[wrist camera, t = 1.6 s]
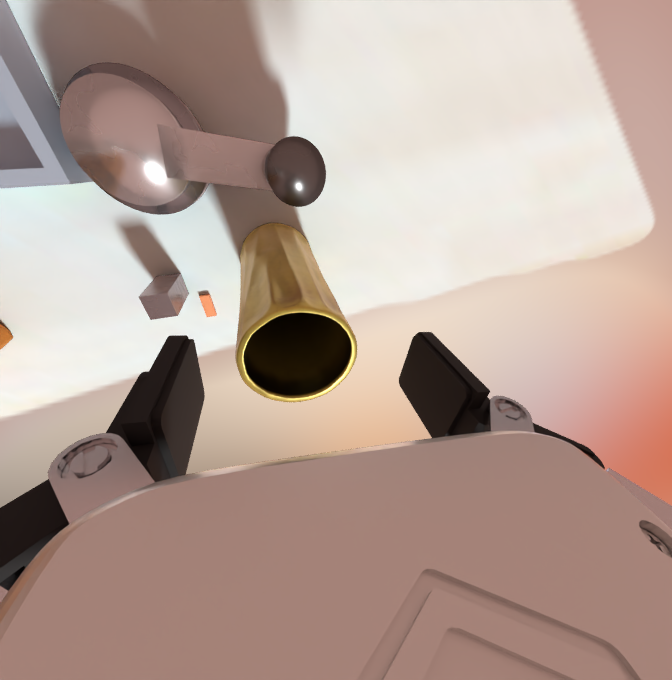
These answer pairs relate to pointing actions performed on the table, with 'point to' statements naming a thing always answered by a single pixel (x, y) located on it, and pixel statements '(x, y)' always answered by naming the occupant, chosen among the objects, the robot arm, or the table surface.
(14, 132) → the tray
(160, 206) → the disc
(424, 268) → the table surface
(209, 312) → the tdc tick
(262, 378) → the vase
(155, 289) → the post
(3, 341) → the coffee package
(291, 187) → the crank
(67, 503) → the robot arm
